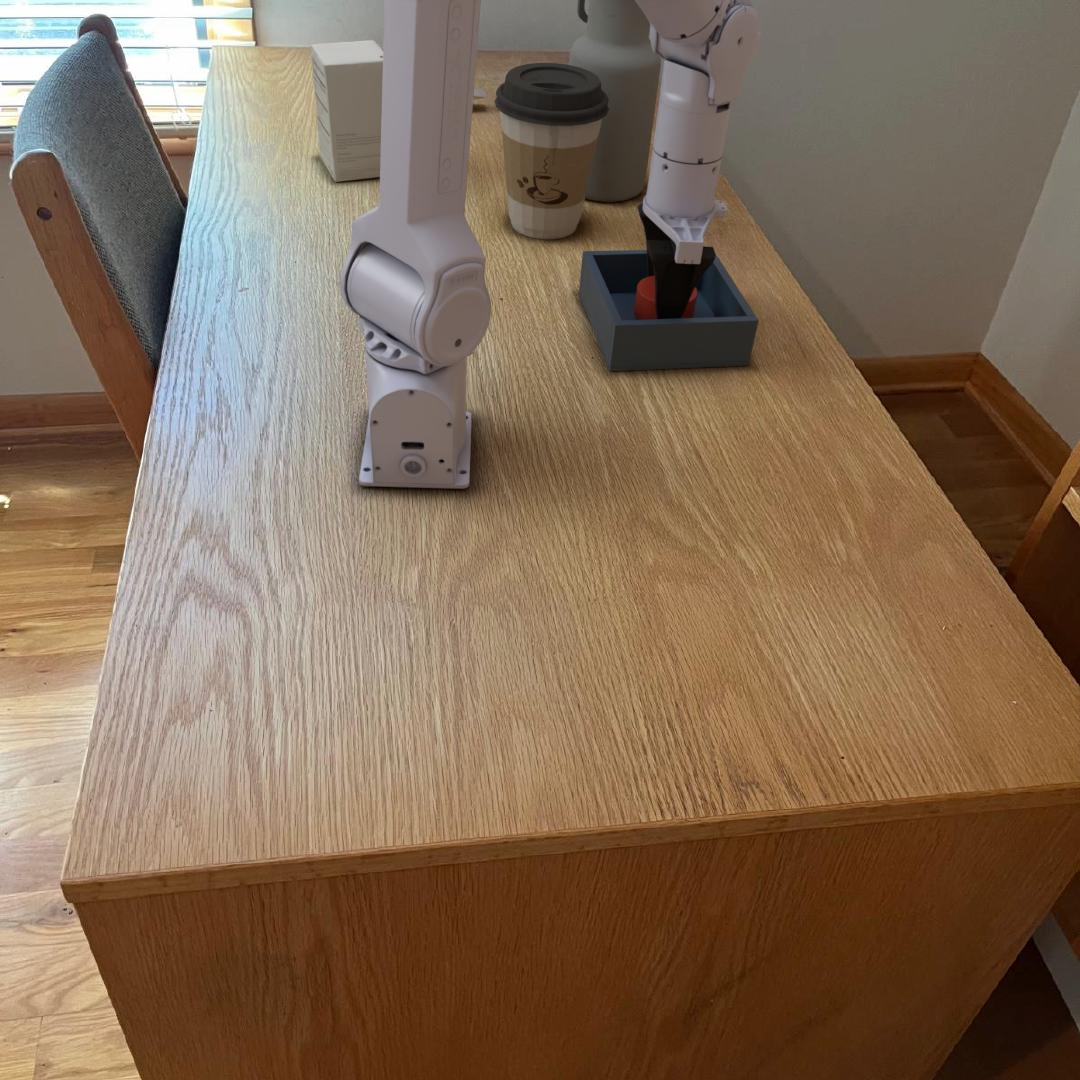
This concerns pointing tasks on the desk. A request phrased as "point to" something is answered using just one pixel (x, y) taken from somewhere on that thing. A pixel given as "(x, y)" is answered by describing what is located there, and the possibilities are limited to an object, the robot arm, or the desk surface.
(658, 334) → the bin
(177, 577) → the desk surface
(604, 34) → the water bottle
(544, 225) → the coffee cup
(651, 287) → the red cylinder
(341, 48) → the white packaging box
